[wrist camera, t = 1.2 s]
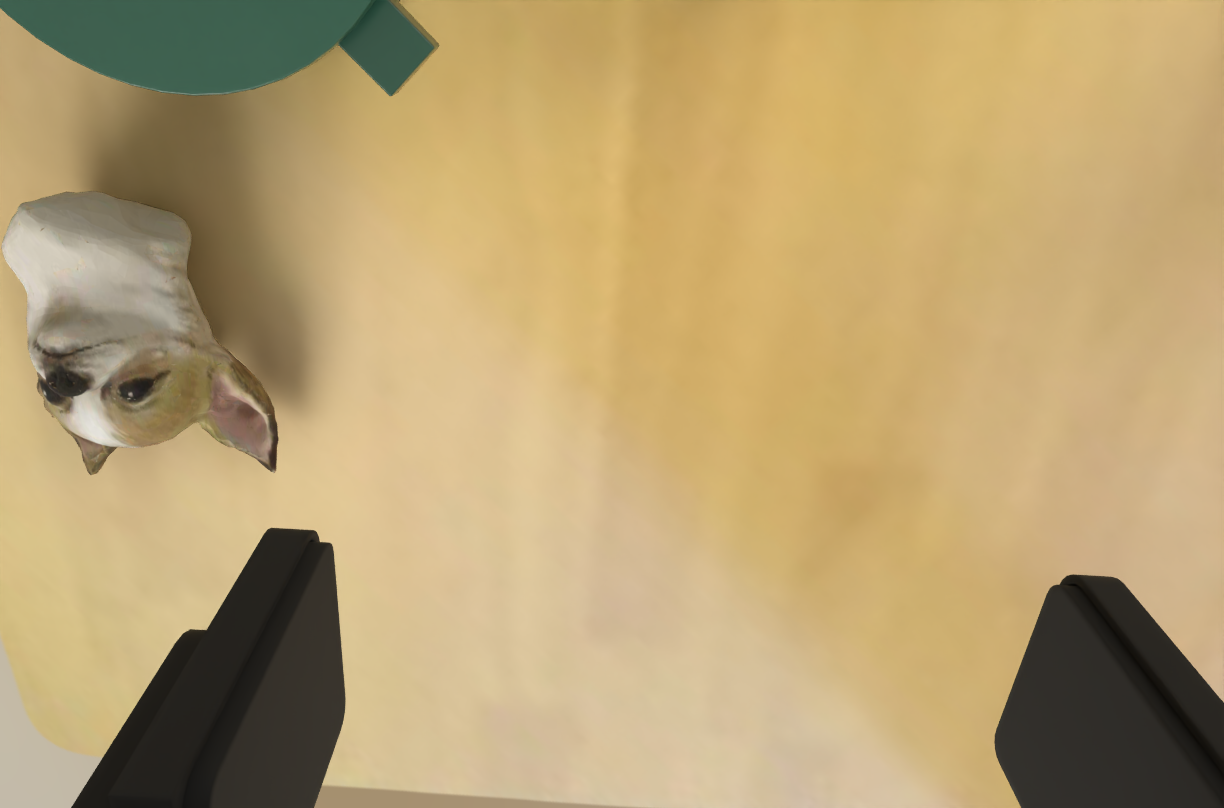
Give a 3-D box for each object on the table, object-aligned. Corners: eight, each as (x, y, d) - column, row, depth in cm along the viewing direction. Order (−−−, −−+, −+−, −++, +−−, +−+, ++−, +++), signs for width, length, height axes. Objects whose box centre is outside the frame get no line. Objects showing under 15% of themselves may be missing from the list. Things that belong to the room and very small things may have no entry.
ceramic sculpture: (140, 216, 31) (243, 546, 39) (236, 153, 39) (307, 439, 46) (-151, 223, 31) (7, 548, 39) (0, 159, 39) (108, 442, 47)
